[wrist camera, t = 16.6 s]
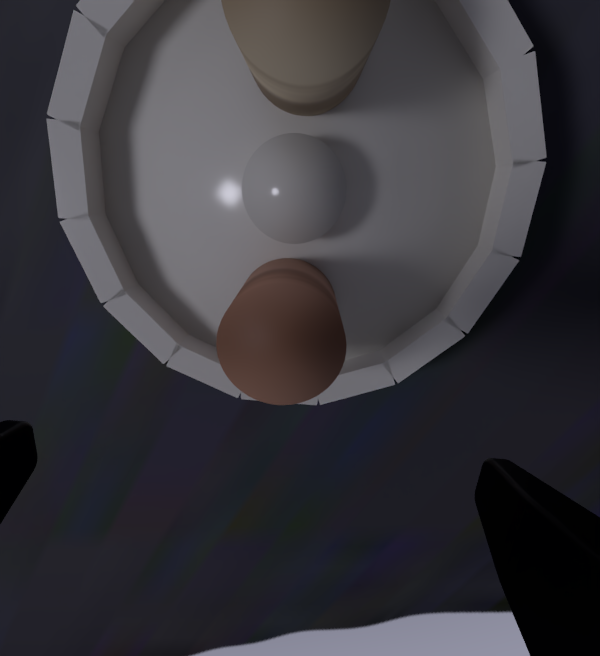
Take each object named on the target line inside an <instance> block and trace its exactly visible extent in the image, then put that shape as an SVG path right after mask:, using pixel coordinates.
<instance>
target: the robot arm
mask: <svg viewBox="0 0 600 656" xmlns="http://www.w3.org/2000/svg"><path fill="white" fill-rule="evenodd" d="M36 463H37V451H36V445H35V439H34V433H33V428H32V426H31V424H30V423H28V422H25V421H13V420H6V421H2V422H0V524H1V522H2V521H3V519H4V517H5V516H6V514H7V513H8V511H9V509H10V508H11V506H12V505H13V503H14V501H15V500H16V498H17V497H18V495H19V493H20V492H21V490H22V488H23V487H24V485H25V484H26V482H27V480H28V479H29V477H30V476H31V474H32V472H33V471H34V469H35V466H36ZM475 503H476V506H477V510H478V513H479V516H480V519H481V523H482V526H483V529H484V532H485V536H486V539H487V542H488V545H489V549H490V552H491V555H492V558H493V562H494V565H495V568H496V571H497V574H498V577H499V580H500V583H501V585H502V588H503V591H504V593H505V596H506V598H507V601H508V603H509V605H510V608H511V610H512V613H513V615H514V617H515V620H516V622H517V625H518V627H519V629H520V632H521V634H522V636H523V639H524V641H525V643H526V646H527V649H528V651H529V653H530V656H600V517H598V516H597V515H595V514H593V513H592V512H590V511H589V510H587V509H586V508H584V507H582V506H581V505H579V504H578V503H576V502H574V501H573V500H571V499H570V498H568V497H567V496H565V495H563V494H562V493H560V492H559V491H557V490H555V489H554V488H552V487H551V486H549V485H547V484H546V483H544V482H543V481H541V480H540V479H538V478H536V477H535V476H533V475H532V474H530V473H528V472H527V471H525V470H524V469H522V468H521V467H519V466H517V465H516V464H514V463H513V462H511V461H509V460H506V459H495V458H488V459H486V460H485V461H484V463H483V465H482V468H481V472H480V476H479V479H478V483H477V486H476V490H475Z"/></svg>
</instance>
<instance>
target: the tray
mask: <svg viewBox="0 0 600 656" xmlns="http://www.w3.org/2000/svg"><path fill="white" fill-rule="evenodd" d="M76 6H77V7H78V9H79V10H80V11H81V12H82V13H83V14H84V15H82V14H80V13H78V12H76V11H75V10H74V11H73V15H72V19H71V23H70V27H69V30H68V34H67V38H66V42H65V46H64V50H63V54H62V57H61V61H60V65H59V69H58V73H57V77H56V81H55V85H54V88H53V92H52V96H51V100H50V104H49V108H48V112H47V115H49V116H51V117H53V118H55V119H57V120H54V119H47V127H48V135H49V143H50V152H51V160H52V168H53V177H54V185H55V193H56V202H57V210H58V218H66V220H64V221H61V222H60V223H61V225H62V227H63V229H64V231H65V233H66V235H67V237H68V239H69V241H70V243H71V245H72V247H73V249H74V251H75V253H76V255H77V257H78V259H79V261H80V263H81V265H82V267H83V269H84V271H85V273H86V275H87V277H88V279H89V281H90V283H91V285H92V287H93V289H94V291H95V293H96V295H97V297H98V299H99V301H100V303H103V302H106V301H108V302H107V303H106V304H105V305H104V306H103V307H104V308H105V309H106V310H108V311H109V312H110V313H111V314H112V315H113V316H114V317H115V318H116V319H117V320H118V321H119V322H120V323H121V324H122V325H123V326H124V327H125V328H126V329H127V330H128V331H129V332H131V333H132V334H133V335H134V336H135V337H136V338H137V339H138V340H139V341H140V342H141V343H142V344H143V345H144V346H145V347H146V348H147V349H148V350H149V351H150V352H151V353H152V354H153V355H155V356H156V357H157V358H158V359H159V360H160V361H161V362H162V363H163V364H164V363H165V362H166V361H167V360H169V361H168V363H167V366H168V367H170V368H172V369H174V370H176V371H179V372H181V373H183V374H185V375H187V376H190V377H192V378H194V379H196V380H199V381H201V382H203V383H205V384H207V385H210V386H212V387H214V388H216V389H218V390H221V391H223V392H225V393H227V394H230V395H232V396H234V397H236V398H238V397H239V395H240V393H241V399H246V400H256V399H253V398H251V397H249V396H248V395H246V394H245V393H243V392H242V391H240V390H239V389H238V388H237V387H236V386H234V384H233V383H232V382H231V381H230V380H229V379H228V377H227V376H226V374H225V373H224V371H223V369H222V367H221V365H220V362H219V359H218V355H217V347H216V339H217V332H218V327H219V325H220V322H221V319H222V318H223V316H224V314H225V312H226V311H227V309H228V308H229V306H230V305H231V303H232V302H233V300H234V299H235V297H236V296H237V294H238V293H239V291H240V289H241V288H242V286H243V285H244V283H245V282H246V280H247V279H248V278H249V276H250V275H251V274H252V273H253V272H254V271H255V270H256V269H257V268H259V267H260V266H261V265H263V264H265V263H267V262H269V261H272V260H276V259H281V258H293V259H299V260H303V261H305V262H308V263H310V264H312V265H313V266H315V267H317V268H318V269H319V270H320V271H321V272H322V273H323V274H324V275H325V276H326V277H327V279H328V280H329V282H330V283H331V285H332V288H333V290H334V293H335V297H336V301H337V304H338V308H339V312H340V316H341V320H342V323H343V327H344V331H345V336H346V344H347V346H346V356H345V361H344V364H343V367H342V369H341V371H340V373H339V375H338V376H337V378H336V379H335V381H334V382H333V383H332V384H331V385H330V386H329V387H328V388H327V389H326V390H325V391H324V392H322V393H321V394H319V395H318V396H316V397H314V398H312V399H310V400H307V401H304V402H301V403H297V404H308V405H317V400H319V402H320V405H322V404H326V403H329V402H333V401H337V400H340V399H344V398H348V397H351V396H355V395H359V394H362V393H366V392H370V391H373V390H377V389H381V388H384V387H388V386H392V385H395V383H394V379H395V380H396V381H397V382H398V383H399V382H401V381H402V380H403V379H405V378H406V377H408V376H409V375H411V374H412V373H413V372H415V371H416V370H418V369H419V368H421V367H422V366H423V365H425V364H426V363H428V362H429V361H431V360H432V359H433V358H435V357H436V356H438V355H439V354H441V353H442V352H443V351H445V350H446V349H448V348H449V347H450V346H452V345H453V344H455V343H456V342H458V341H459V340H460V339H462V338H463V337H465V335H464V334H463V333H462V331H464V332H466V333H469V331H470V330H471V328H472V327H473V326H474V324H475V323H476V321H477V320H478V318H479V317H480V316H481V314H482V313H483V311H484V310H485V308H486V307H487V306H488V304H489V303H490V301H491V300H492V299H493V297H494V296H495V294H496V293H497V291H498V290H499V289H500V287H501V286H502V284H503V283H504V281H505V280H506V279H507V277H508V276H509V274H510V273H511V272H512V270H513V269H514V267H515V266H516V264H517V263H518V262H519V260H517V259H515V258H513V257H512V256H516V257H521V255H522V251H523V247H524V244H525V240H526V236H527V232H528V229H529V225H530V221H531V217H532V214H533V210H534V206H535V202H536V199H537V195H538V191H539V187H540V184H541V180H542V176H543V173H544V169H545V165H546V162H540V161H537V160H540V159H543V158H546V157H547V156H546V147H545V137H544V128H543V119H542V110H541V100H540V91H539V82H538V73H537V64H536V54H535V51H533V52H531V53H528V54H525V53H526V52H527V51H529V50H530V49H531V48H532V47H533V44H532V42H531V41H530V39H529V37H528V35H527V33H526V32H525V30H524V28H523V26H522V25H521V23H520V21H519V19H518V17H517V16H516V14H515V12H514V10H513V9H512V7H511V5H510V3H509V2H508V0H391V1H390V6H389V9H388V13H387V16H386V19H385V22H384V24H383V26H382V29H381V31H380V33H379V35H378V38H377V40H376V42H375V44H374V46H373V49H372V51H371V53H370V55H369V57H368V60H367V62H366V64H365V66H364V68H363V70H362V73H361V75H360V77H359V79H358V81H357V83H356V85H355V87H354V88H353V90H352V91H351V92H350V94H349V95H348V96H347V97H346V98H345V99H344V100H343V101H342V102H341V103H340V104H339V105H337V106H336V107H334V108H333V109H331V110H329V111H327V112H325V113H322V114H318V115H313V116H299V115H294V114H290V113H287V112H285V111H283V110H281V109H279V108H278V107H276V106H275V105H274V104H272V103H271V102H270V101H269V100H268V99H267V98H266V97H265V96H264V94H263V93H262V92H261V90H260V89H259V87H258V85H257V83H256V82H255V80H254V78H253V76H252V73H251V71H250V69H249V67H248V65H247V63H246V61H245V59H244V57H243V55H242V53H241V51H240V49H239V47H238V45H237V43H236V41H235V39H234V37H233V35H232V33H231V31H230V28H229V26H228V23H227V20H226V18H225V15H224V11H223V7H222V2H221V0H80V1H79V2H78V4H77V5H76ZM524 54H525V55H524ZM461 330H462V331H461ZM393 378H394V379H393Z"/></svg>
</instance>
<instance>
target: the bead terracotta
mask: <svg viewBox="0 0 600 656" xmlns="http://www.w3.org/2000/svg"><path fill="white" fill-rule="evenodd" d="M346 346H347V344H346V336H345V331H344V327H343V323H342V320H341V316H340V312H339V308H338V304H337V301H336V297H335V293H334V290H333V288H332V285H331V283H330V282H329V280H328V279H327V277H326V276H325V275H324V274H323V273H322V272H321V271H320V270H319V269H318V268H317V267H315V266H313V265H312V264H310V263H308V262H305V261H303V260H299V259H293V258H281V259H276V260H272V261H269V262H267V263H265V264H263V265H261V266H260V267H259V268H257V269H256V270H255V271H254V272H253V273H252V274H251V275H250V276H249V278H248V279H247V280H246V282H245V283H244V285H243V286H242V288H241V289H240V291H239V293H238V294H237V296H236V297H235V299H234V300H233V302H232V303H231V305H230V306H229V308H228V309H227V311H226V312H225V314H224V316H223V318H222V319H221V322H220V325H219V327H218V332H217V339H216V347H217V355H218V359H219V362H220V365H221V367H222V369H223V371H224V373H225V374H226V376H227V377H228V379H229V380H230V381H231V382H232V383H233V384H234V386H236V387H237V388H238V389H239V390H240V391H242V392H243V393H245V394H246V395H248V396H249V397H251V398H253V399H256V400H258V401H261V402H265V403H269V404H275V405H290V404H297V403H301V402H304V401H307V400H310V399H312V398H314V397H316V396H318V395H319V394H321V393H322V392H324V391H325V390H326V389H327V388H328V387H329V386H330V385H331V384H332V383H333V382H334V381H335V379H336V378H337V376H338V375H339V373H340V371H341V369H342V367H343V364H344V361H345V356H346Z"/></svg>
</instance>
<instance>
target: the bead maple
mask: <svg viewBox="0 0 600 656" xmlns="http://www.w3.org/2000/svg"><path fill="white" fill-rule="evenodd" d="M390 1H391V0H221V2H222V7H223V11H224V15H225V18H226V20H227V23H228V26H229V28H230V31H231V33H232V35H233V37H234V39H235V41H236V43H237V45H238V47H239V49H240V51H241V53H242V55H243V57H244V59H245V61H246V63H247V65H248V67H249V69H250V71H251V73H252V76H253V78H254V80H255V82H256V83H257V85H258V87H259V89H260V90H261V92H262V93H263V94H264V96H265V97H266V98H267V99H268V100H269V101H270V102H271V103H272V104H274V105H275V106H276V107H278V108H279V109H281V110H283V111H285V112H287V113H290V114H294V115H299V116H313V115H318V114H322V113H325V112H327V111H329V110H331V109H333V108H334V107H336V106H337V105H339V104H340V103H341V102H342V101H343V100H344V99H345V98H346V97H347V96H348V95H349V94H350V92H351V91H352V90H353V88H354V87H355V85H356V83H357V81H358V79H359V77H360V75H361V73H362V70H363V68H364V66H365V64H366V62H367V60H368V57H369V55H370V53H371V51H372V49H373V46H374V44H375V42H376V40H377V38H378V35H379V33H380V31H381V29H382V26H383V24H384V22H385V19H386V16H387V13H388V9H389V6H390Z"/></svg>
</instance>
